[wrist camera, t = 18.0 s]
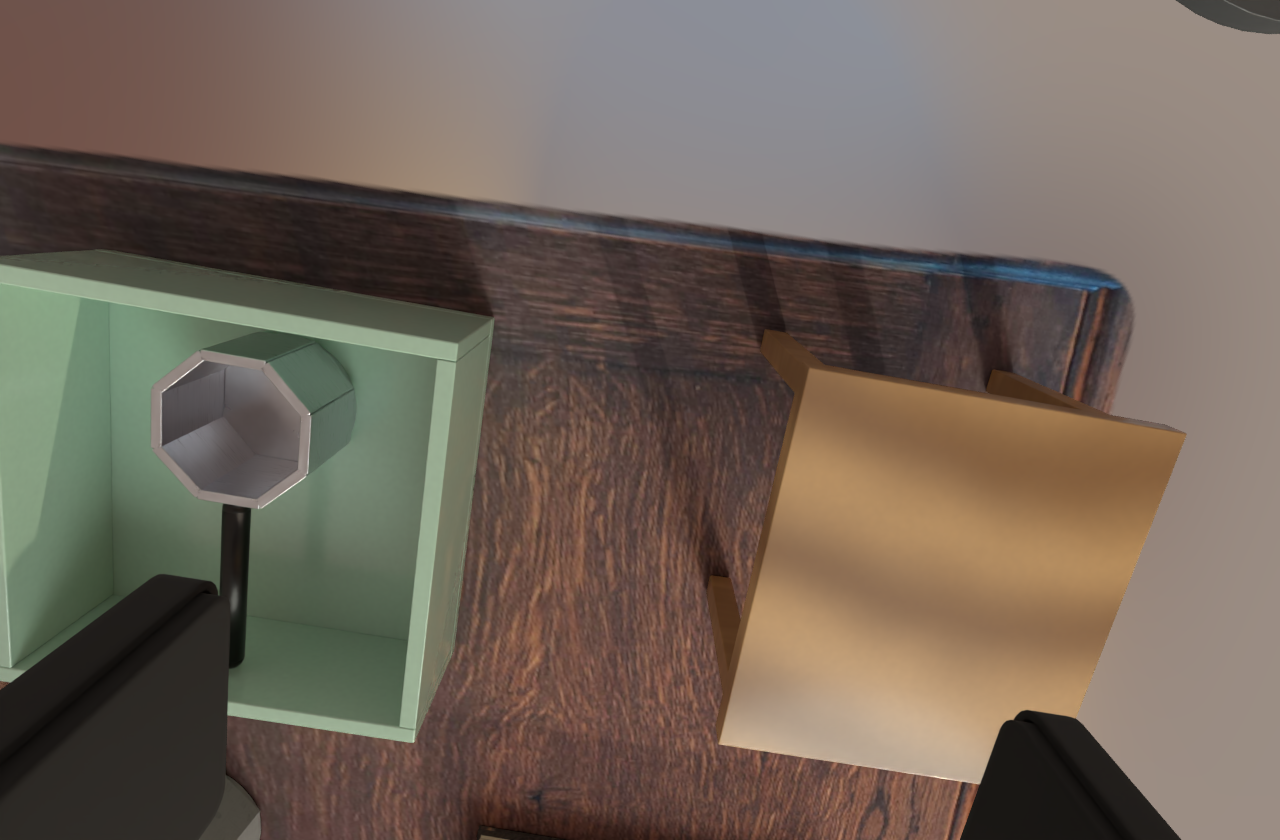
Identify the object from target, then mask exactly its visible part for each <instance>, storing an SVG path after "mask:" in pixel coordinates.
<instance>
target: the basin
mask: <svg viewBox="0 0 1280 840" xmlns="http://www.w3.org/2000/svg"><path fill="white" fill-rule="evenodd" d="M494 320H495V318H494V317H490V316H484V315H479V314H473V313H467V312H461V311H456V310H450V309H444V308H439V307H433V306H427V305H421V304H416V303H410V302H404V301H399V300H393V299H387V298H381V297H376V296H370V295H364V294H359V293H353V292H347V291H341V290H336V289H330V288H324V287H319V286H313V285H307V284H301V283H296V282H290V281H284V280H279V279H273V278H267V277H261V276H256V275H250V274H244V273H239V272H233V271H227V270H221V269H216V268H210V267H204V266H199V265H193V264H187V263H181V262H176V261H170V260H164V259H159V258H153V257H147V256H141V255H136V254H130V253H124V252H119V251H113V250H107V249H97V250H82V251H68V252H54V253H39V254H25V255H10V256H0V681H4V682H12V681H13V680H15V679H16V678H17V677H19V676H20V675H21V674H23V673H24V672H25V671H27V670H28V669H30V668H31V667H32V666H34V665H35V664H36V663H38V662H39V661H40V660H42V659H43V658H44V657H46V656H47V655H48V654H50V653H51V652H52V651H54V650H55V649H56V648H58V647H59V646H60V645H62V644H63V643H64V642H66V641H67V640H69V639H70V638H71V637H73V636H74V635H75V634H77V633H78V632H79V631H81V630H82V629H83V628H85V627H86V626H87V625H89V624H90V623H91V622H93V621H94V620H95V619H97V618H98V617H99V616H101V615H102V614H103V613H105V612H106V611H108V610H109V609H110V608H112V607H113V606H114V605H116V604H117V603H118V602H120V601H121V600H122V599H124V598H125V597H126V596H128V595H129V594H130V593H132V592H133V591H134V590H136V589H137V588H138V587H140V586H141V585H142V584H144V583H145V582H147V581H148V580H149V579H151V578H152V577H154V576H156V575H158V574H168V575H175V576H181V577H187V578H194V579H200V580H206V581H211V582H213V583H214V584H215V585H216V587H217V590H218V595H219V590H220V558H221V526H222V506H223V503H218V502H212V501H206V500H200V499H197V497H194V496H193V495H192V494H191V493H190V492H189V491H188V489H187V488H186V487H185V486H184V485H183V484H182V483H181V482H180V481H179V480H178V478H177V477H176V476H175V475H174V474H173V473H172V472H171V471H170V470H169V469H168V467H167V466H166V465H165V464H164V463H163V462H162V461H161V460H160V459H159V458H158V456H157V455H156V454H155V453H154V452H153V451H152V449H153V448H151V388H152V385H153V384H155V383H156V382H157V381H158V380H160V379H161V378H162V377H164V376H165V375H166V374H168V373H169V372H170V371H171V370H173V369H174V368H175V367H177V366H178V365H179V364H180V363H182V362H183V361H184V360H186V359H187V358H188V357H190V356H191V355H192V354H193V353H195V352H196V351H197V350H200V349H203V348H206V347H210V346H213V345H216V344H219V343H222V342H226V341H229V340H232V339H235V338H239V337H242V336H245V335H248V334H251V333H255V332H259V331H261V332H267V333H273V334H277V333H283V334H292V335H296V336H300V337H303V338H306V339H308V340H312V341H315V343H318V344H319V345H320V346H321V347H323V348H324V349H326V350H327V351H328V352H329V353H331V354H332V355H333V356H334V357H335V358H336V359H337V360H338V361H339V363H340V364H341V365H342V367H343V368H344V369H345V371H346V373H347V375H348V376H349V378H350V380H351V383H352V385H353V387H354V389H355V397H356V419H355V423H354V427H353V430H352V432H351V441H350V442H349V444H348V445H346V446H345V447H344V448H343V449H341V450H340V451H339V452H338V453H336V454H335V455H334V456H332V457H331V458H330V459H329V460H327V461H326V462H325V463H324V464H322V465H321V466H320V467H318V468H317V469H316V470H315V471H313V472H312V473H311V474H310V475H308V476H307V477H306V478H304V479H303V480H301V481H300V482H299V483H297V484H296V485H294V486H293V487H292V488H290V489H289V490H287V491H286V492H285V493H283V494H282V495H280V496H279V497H278V498H276V499H275V500H273V501H272V502H271V503H269V504H268V505H266V506H265V507H264V508H260V509H254V508H251V526H250V550H249V573H248V596H247V620H246V643H245V658H244V660H243V662H242V663H241V664H240V665H239V666H238V667H236V668H233V669H229V679H228V712H227V715H230V716H237V717H244V718H250V719H257V720H264V721H270V722H277V723H284V724H290V725H297V726H304V727H310V728H317V729H324V730H330V731H337V732H344V733H350V734H357V735H364V736H370V737H377V738H383V739H390V740H397V741H403V742H410V743H414V741H415V739H416V737H417V734H418V732H419V730H420V728H421V725H422V723H423V721H424V718H425V716H426V714H427V711H428V709H429V707H430V704H431V702H432V700H433V698H434V695H435V693H436V691H437V688H438V686H439V684H440V681H441V679H442V677H443V674H444V672H445V670H446V668H447V665H448V663H449V661H450V658H451V656H452V654H453V652H454V645H455V637H456V629H457V621H458V613H459V605H460V597H461V589H462V580H463V572H464V564H465V556H466V548H467V540H468V532H469V523H470V515H471V507H472V499H473V491H474V483H475V475H476V467H477V458H478V450H479V442H480V434H481V426H482V418H483V410H484V402H485V393H486V385H487V377H488V369H489V361H490V353H491V345H492V337H493V328H494Z"/></svg>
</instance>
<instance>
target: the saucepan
mask: <svg viewBox="0 0 1280 840" xmlns="http://www.w3.org/2000/svg"><path fill="white" fill-rule="evenodd" d="M355 419H356V397H355V389H354V387H353V385H352V383H351V380H350V378H349V376H348V375H347V373H346V371H345V369H344V368H343V367H342V365H341V364H340V363H339V361H338V360H337V359H336V358H335V357H334V356H333V355H332V354H331V353H329V352H328V351H327V350H326V349H324V348H323V347H321V346H320V345H319V344H318V343H315V341H312V340H308V339H306V338H303V337H300V336H296V335H292V334H283V333H277V334H273V333H267V332H261V331H259V332H255V333H251V334H248V335H245V336H242V337H239V338H235V339H232V340H229V341H226V342H222V343H219V344H216V345H213V346H210V347H206V348H203V349H200V350H197V351H196V352H195V353H193V354H192V355H191V356H190V357H188V358H187V359H186V360H184V361H183V362H182V363H180V364H179V365H178V366H177V367H175V368H174V369H173V370H171V371H170V372H169V373H168V374H166V375H165V376H164V377H162V378H161V379H160V380H158V381H157V382H156V383H155V384H153V385H152V388H151V448H153V449H152V451H153V452H154V453H155V454H156V455H157V456H158V458H159V459H160V460H161V461H162V462H163V463H164V464H165V465H166V466H167V467H168V469H169V470H170V471H171V472H172V473H173V474H174V475H175V476H176V477H177V478H178V480H179V481H180V482H181V483H182V484H183V485H184V486H185V487H186V488H187V489H188V491H189V492H190V493H191V494H192V495H193V496H194V497H197V499H200V500H206V501H212V502H218V503H223V506H222V526H221V558H220V590H219V596H225V597H227V598H228V599H229V602H230V609H231V613H230V646H229V669H233V668H236V667H238V666H239V665H240V664H241V663H242V662H243V660H244V658H245V643H246V620H247V596H248V573H249V550H250V526H251V508H254V509H260V508H264V507H265V506H266V505H268V504H269V503H271V502H272V501H273V500H275V499H276V498H278V497H279V496H280V495H282V494H283V493H285V492H286V491H287V490H289V489H290V488H292V487H293V486H294V485H296V484H297V483H299V482H300V481H301V480H303V479H304V478H306V477H307V476H308V475H310V474H311V473H312V472H313V471H315V470H316V469H317V468H318V467H320V466H321V465H322V464H324V463H325V462H326V461H327V460H329V459H330V458H331V457H332V456H334V455H335V454H336V453H338V452H339V451H340V450H341V449H343V448H344V447H345V446H346V445H348V444H349V442H350V441H351V432H352V430H353V427H354V423H355Z"/></svg>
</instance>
